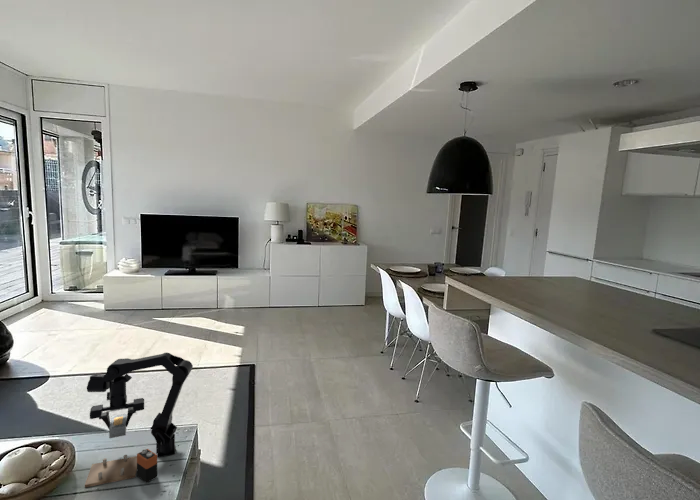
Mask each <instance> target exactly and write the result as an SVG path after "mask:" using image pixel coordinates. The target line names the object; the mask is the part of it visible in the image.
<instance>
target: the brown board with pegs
mask: <svg viewBox="0 0 700 500" xmlns="http://www.w3.org/2000/svg"><path fill="white" fill-rule="evenodd" d="M136 476H137V455H135V456H130V457H128V454H124V455H123V458H119V459H113V460H107V458H103V459H102V462H96V463H92V464H91V466H90V469H89V472H88V474H87V477H86V480H85V483H84V488H88V487H94V486H98V485H104V484H109V483H110V484H111V483H114V482H115V483H116V482H118V481H119V482H120V481H125V480H130V479H133V478H134V479H135V478H136Z"/></svg>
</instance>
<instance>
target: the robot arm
mask: <svg viewBox="0 0 700 500" xmlns="http://www.w3.org/2000/svg"><path fill="white" fill-rule="evenodd" d="M158 366H159V367H160V366H161V367H163V368H165V370H166V371H167V372H168V373H170V374H171V375H172V378H171V382H172V384H171V387H170V389H169V392H168V394H167V397H166V400H165V402H164V405H163V409H162V412H158V413H157V415H156V416H155V418H154V419H153V421H152V426H151V427H150V428H149V430H151V431H150V434H151V435H152V437H153V438H154V440H155V443H156V444H155V445H156V448H155V454H156V455H157V458H162V457H168V456H172V455H175V454H176V443H175V442H176V434H175V433H176V431H177V429H178V427H177V425H175V424H174V423H173V412H174V409H175V407H176V404H177V401H178V399H179V396H180V394H181V391H182V388H183V387H184V386H183V385H184V383H185V381H186V380H187V378H188V377H189V375H190V374H191V371H192V370H193V363H192V362H191V361H190V360H186V359H184V358H182V357H181V356H177V355H175V354H174V355H173V354H172V353H171V352H164V353H160V354H154V355H150V356H145V357H140V358H133V359H132V358H118V359H116V360H114V362H112V363H111V364H110V365H108V366H107V368H106V373H105V374H97V373H95V374H91V375H90V376H89V380H88V382H87V386H86V391H87V392H88V393H106V401H109V406H104V404H96V405H92V406H91V408H90V411H89V419H90V420H93V419H98V420H101V421H103V423H104V424H105V425H106V427H107V429H108V430H109V427H110V422H111V417H110V412H115V411H120V410H121V411H122V410H127V413H126V414H127V420H126V428H127V427H129V426H128V425H129V423H130V420H131V418H132V417H133V415H134V414H136V413H137V412H139V411H143V410H145V398H144V397H140V398H134V399H133V401H132V402H128V403H127V401H128V397H127V396H128V395H127V383H129V381H130V380H132V379H133V377H132V376H131V375H129V373H132V372H133V371H134V372H135V371H140V370H144V369H150V368H154V367H158ZM107 390H109V391H107Z"/></svg>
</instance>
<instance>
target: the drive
mask: <svg viewBox="0 0 700 500" xmlns="http://www.w3.org/2000/svg"><path fill="white" fill-rule="evenodd" d="M126 420H127V413H123V414H116V415H112V416H111V417H110V427H109V429H108V430H109V431H108V432H109V435H108V436H109V437H108V438H109V439H113V438H119V437H123V436H126V435H127V434H126V433H127V427H126Z"/></svg>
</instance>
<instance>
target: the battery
mask: <svg viewBox="0 0 700 500" xmlns="http://www.w3.org/2000/svg"><path fill="white" fill-rule="evenodd" d="M136 456H137V471H136V476H137V477H138V478H139V479H141V480H142V481H143V482H144V483H146V484H147V483H149V482H151V481H152V480H155V479H156V478H158V457H157V453H156V452H155V453H154V452H153V451H152V450H150V449H149V448H145V449H142V450H141V451H140V452H138V453H137V454H136Z"/></svg>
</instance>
